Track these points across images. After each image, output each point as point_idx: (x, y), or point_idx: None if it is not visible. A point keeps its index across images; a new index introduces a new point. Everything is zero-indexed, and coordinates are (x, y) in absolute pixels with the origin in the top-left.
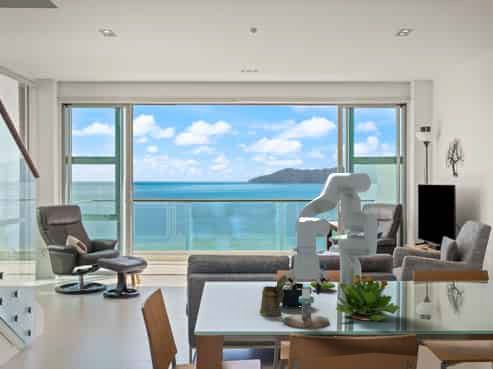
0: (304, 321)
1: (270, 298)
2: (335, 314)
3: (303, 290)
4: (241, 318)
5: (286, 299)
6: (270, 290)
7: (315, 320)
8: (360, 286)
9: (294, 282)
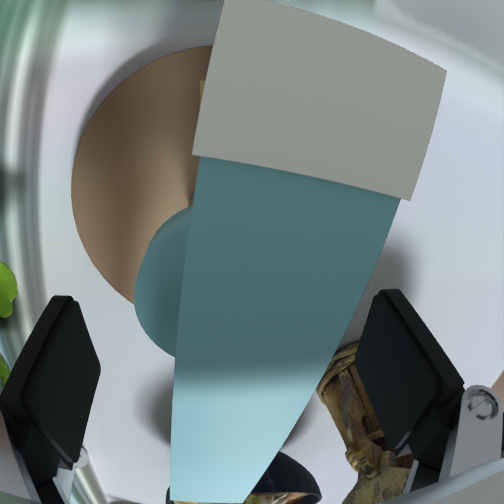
0: None
1: None
2: None
3: (409, 57)
4: (482, 295)
5: (276, 457)
6: None
7: (159, 186)
8: None
9: (479, 421)
